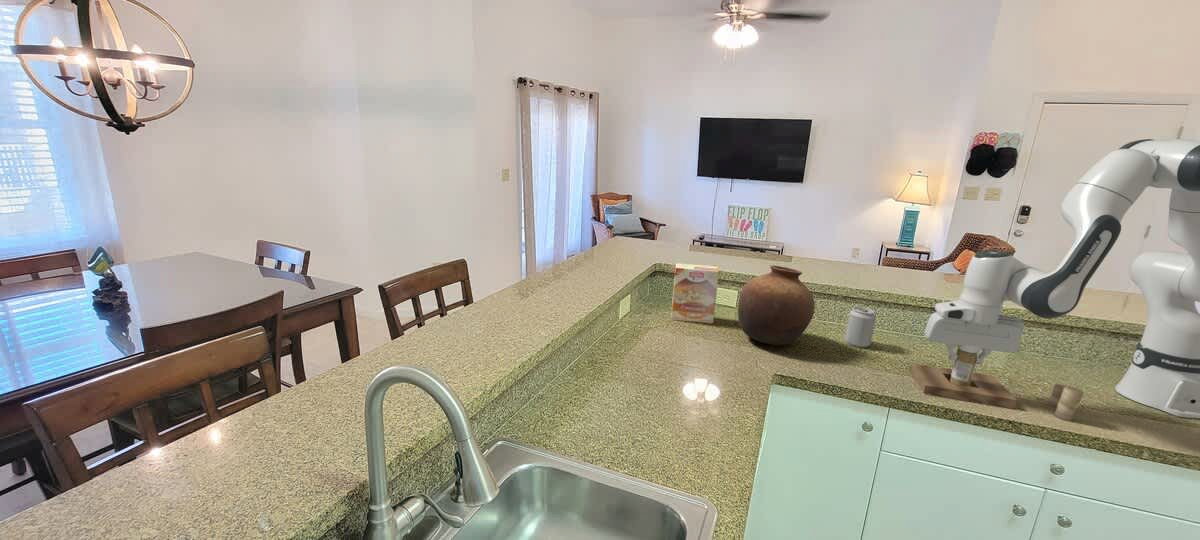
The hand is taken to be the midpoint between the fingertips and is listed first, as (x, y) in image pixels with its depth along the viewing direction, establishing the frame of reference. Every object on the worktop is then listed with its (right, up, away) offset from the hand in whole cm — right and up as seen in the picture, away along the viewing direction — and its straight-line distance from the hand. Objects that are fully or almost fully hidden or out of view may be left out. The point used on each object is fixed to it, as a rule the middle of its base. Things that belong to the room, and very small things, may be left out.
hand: (964, 361), depth 128 cm
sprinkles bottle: (0, -8, +2) cm, 8 cm away
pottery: (-41, +1, +29) cm, 51 cm away
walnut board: (0, -8, +2) cm, 8 cm away
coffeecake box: (-64, +6, +46) cm, 79 cm away
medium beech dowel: (+17, -12, -10) cm, 23 cm away
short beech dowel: (+21, -10, -4) cm, 24 cm away
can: (-13, 0, +30) cm, 32 cm away
